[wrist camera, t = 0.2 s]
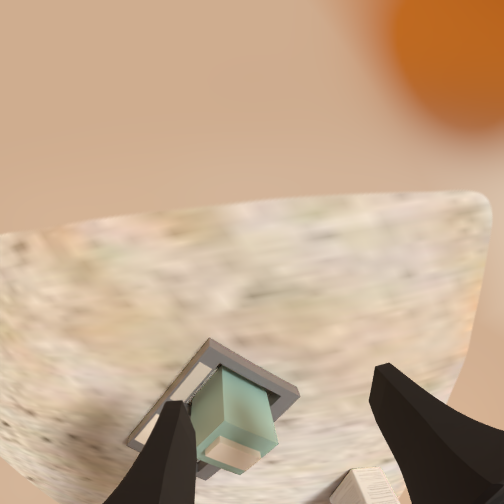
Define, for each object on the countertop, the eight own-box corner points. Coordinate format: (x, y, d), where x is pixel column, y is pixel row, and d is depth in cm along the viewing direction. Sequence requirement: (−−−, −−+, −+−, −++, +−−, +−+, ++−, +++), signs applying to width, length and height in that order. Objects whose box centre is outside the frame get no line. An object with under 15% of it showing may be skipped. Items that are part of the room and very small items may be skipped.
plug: (234, 419, 23) (240, 481, 17) (192, 398, 22) (187, 461, 16) (265, 388, 23) (280, 450, 16) (221, 364, 22) (224, 427, 16)
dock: (205, 471, 25) (205, 481, 23) (129, 436, 23) (126, 446, 22) (296, 387, 23) (300, 397, 22) (209, 337, 21) (209, 346, 20)
